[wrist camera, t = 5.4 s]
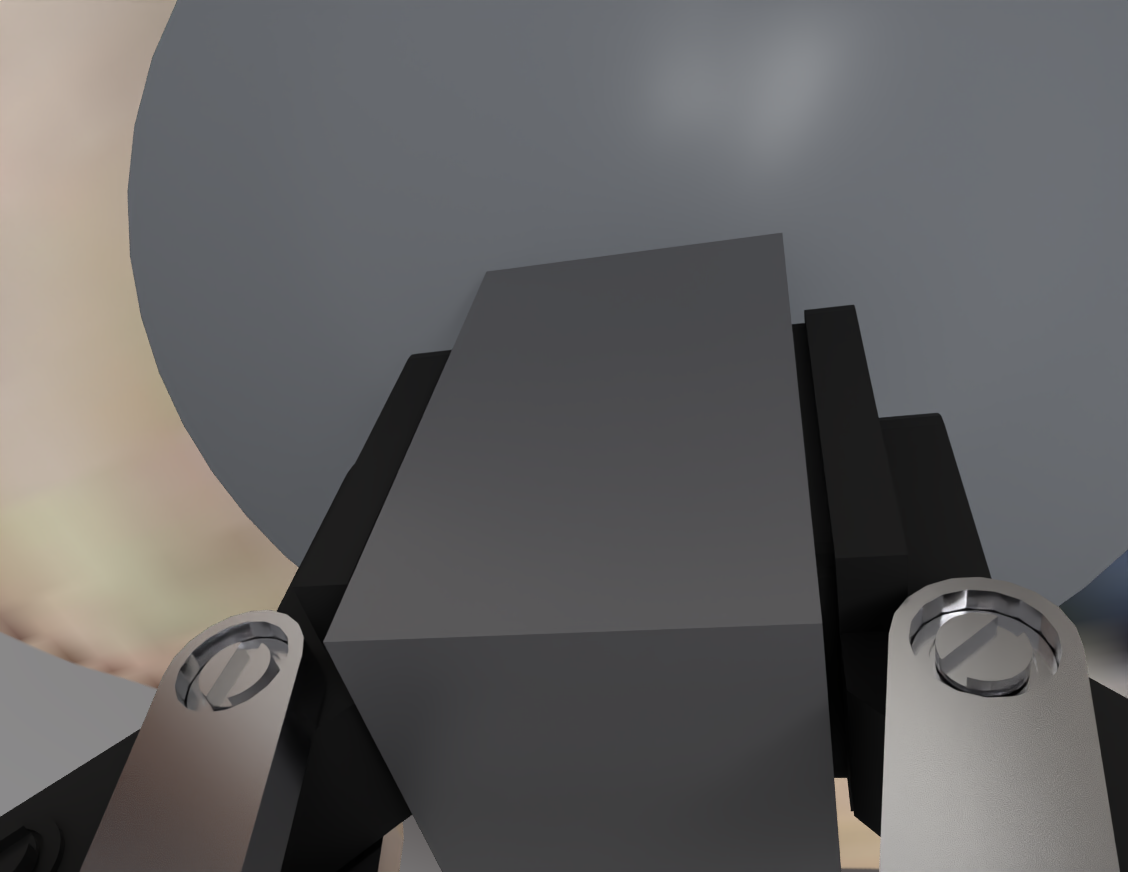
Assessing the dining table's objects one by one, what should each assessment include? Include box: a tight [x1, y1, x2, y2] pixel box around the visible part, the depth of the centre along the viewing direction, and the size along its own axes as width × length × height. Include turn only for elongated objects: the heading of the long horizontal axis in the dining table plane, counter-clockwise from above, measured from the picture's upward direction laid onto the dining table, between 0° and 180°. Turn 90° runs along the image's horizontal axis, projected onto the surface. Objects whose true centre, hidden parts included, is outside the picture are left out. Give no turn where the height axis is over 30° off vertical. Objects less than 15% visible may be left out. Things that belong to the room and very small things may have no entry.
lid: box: [128, 0, 1128, 872], centre depth 10 cm, size 14×14×7 cm
